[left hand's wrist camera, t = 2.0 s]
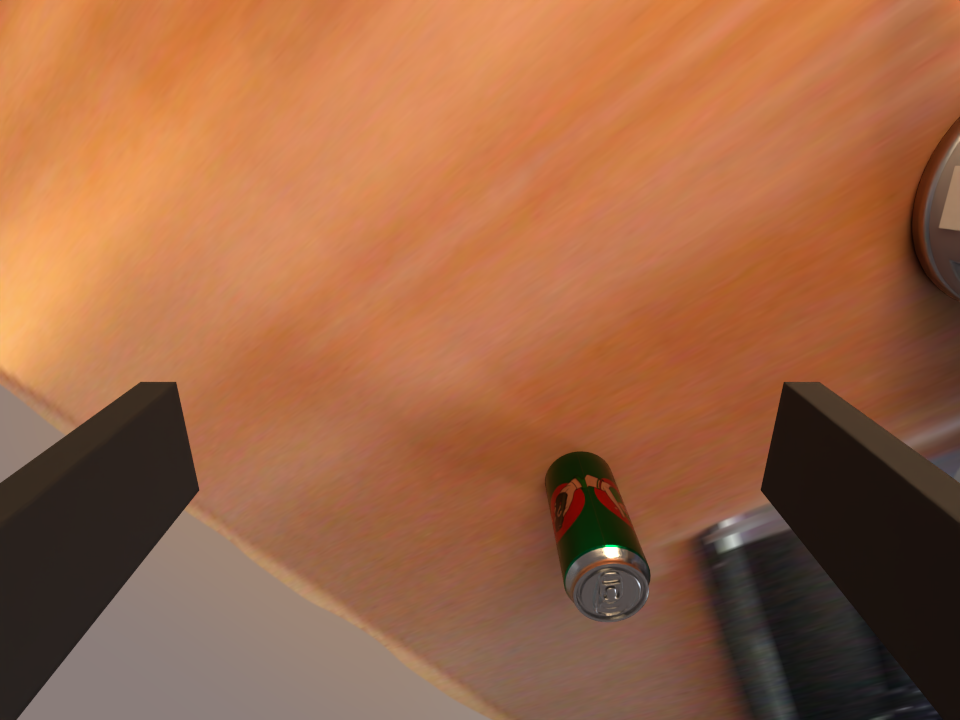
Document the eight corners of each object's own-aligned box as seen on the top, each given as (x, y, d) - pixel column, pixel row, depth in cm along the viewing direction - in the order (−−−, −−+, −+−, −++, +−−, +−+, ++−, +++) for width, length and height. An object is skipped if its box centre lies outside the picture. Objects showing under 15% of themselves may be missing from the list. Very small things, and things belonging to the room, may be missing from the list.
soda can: (546, 506, 44) (569, 631, 33) (541, 451, 42) (563, 562, 31) (611, 500, 44) (656, 623, 33) (609, 444, 42) (655, 554, 31)
